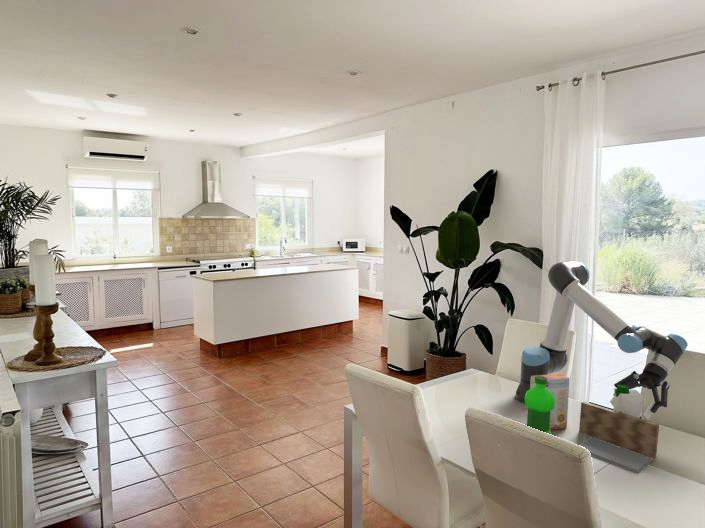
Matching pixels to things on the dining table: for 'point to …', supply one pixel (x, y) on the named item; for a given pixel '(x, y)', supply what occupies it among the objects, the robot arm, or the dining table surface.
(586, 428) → the walnut screen
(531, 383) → the cracker box
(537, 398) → the plastic bottle
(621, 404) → the soya milk
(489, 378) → the dining table surface
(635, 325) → the robot arm
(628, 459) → the slate mat
